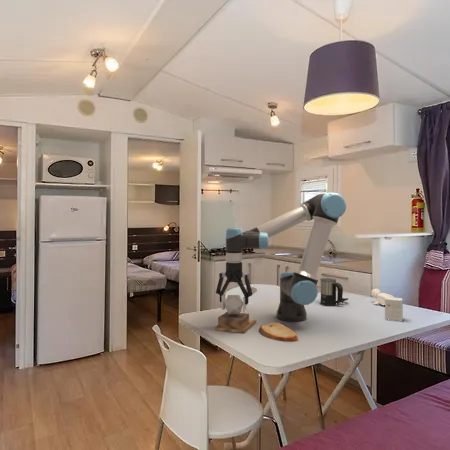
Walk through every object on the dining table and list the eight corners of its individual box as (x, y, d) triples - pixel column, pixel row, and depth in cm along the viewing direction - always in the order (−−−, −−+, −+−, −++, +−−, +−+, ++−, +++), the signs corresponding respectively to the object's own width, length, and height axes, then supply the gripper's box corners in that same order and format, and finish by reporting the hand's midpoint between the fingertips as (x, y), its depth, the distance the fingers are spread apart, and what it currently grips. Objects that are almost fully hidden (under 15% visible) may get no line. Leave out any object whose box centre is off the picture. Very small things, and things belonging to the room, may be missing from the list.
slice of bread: (297, 343, 152) (298, 334, 152) (254, 339, 157) (254, 330, 157) (300, 330, 169) (300, 322, 169) (261, 327, 174) (261, 319, 174)
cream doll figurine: (395, 311, 214) (375, 297, 226) (400, 298, 211) (379, 284, 223) (385, 313, 210) (365, 298, 222) (390, 300, 207) (369, 286, 219)
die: (237, 318, 165) (248, 298, 168) (219, 307, 166) (231, 288, 169) (236, 319, 173) (247, 301, 176) (219, 309, 174) (230, 291, 177)
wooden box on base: (256, 322, 180) (256, 310, 180) (244, 333, 164) (244, 320, 164) (229, 319, 186) (229, 307, 185) (215, 329, 169) (215, 317, 169)
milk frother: (317, 304, 216) (317, 279, 216) (326, 299, 229) (327, 275, 229) (341, 308, 208) (342, 282, 208) (350, 303, 221) (350, 278, 221)
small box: (402, 319, 187) (402, 298, 187) (402, 321, 182) (402, 300, 182) (385, 317, 191) (385, 296, 190) (384, 319, 185) (385, 298, 185)
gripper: (259, 262, 170) (259, 310, 171) (214, 259, 178) (214, 306, 179) (255, 264, 163) (254, 314, 164) (208, 261, 171) (208, 309, 172)
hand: (233, 310), depth 171 cm, fingers closed on die, 10 cm apart
